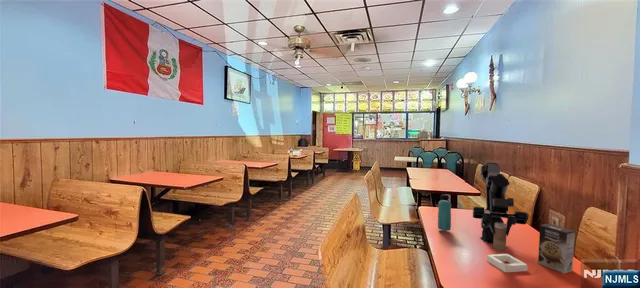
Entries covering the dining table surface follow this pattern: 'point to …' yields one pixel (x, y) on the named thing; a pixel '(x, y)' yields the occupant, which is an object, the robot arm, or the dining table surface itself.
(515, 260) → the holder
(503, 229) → the pepper mill
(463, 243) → the dining table surface
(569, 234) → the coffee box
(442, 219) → the beverage bottle
